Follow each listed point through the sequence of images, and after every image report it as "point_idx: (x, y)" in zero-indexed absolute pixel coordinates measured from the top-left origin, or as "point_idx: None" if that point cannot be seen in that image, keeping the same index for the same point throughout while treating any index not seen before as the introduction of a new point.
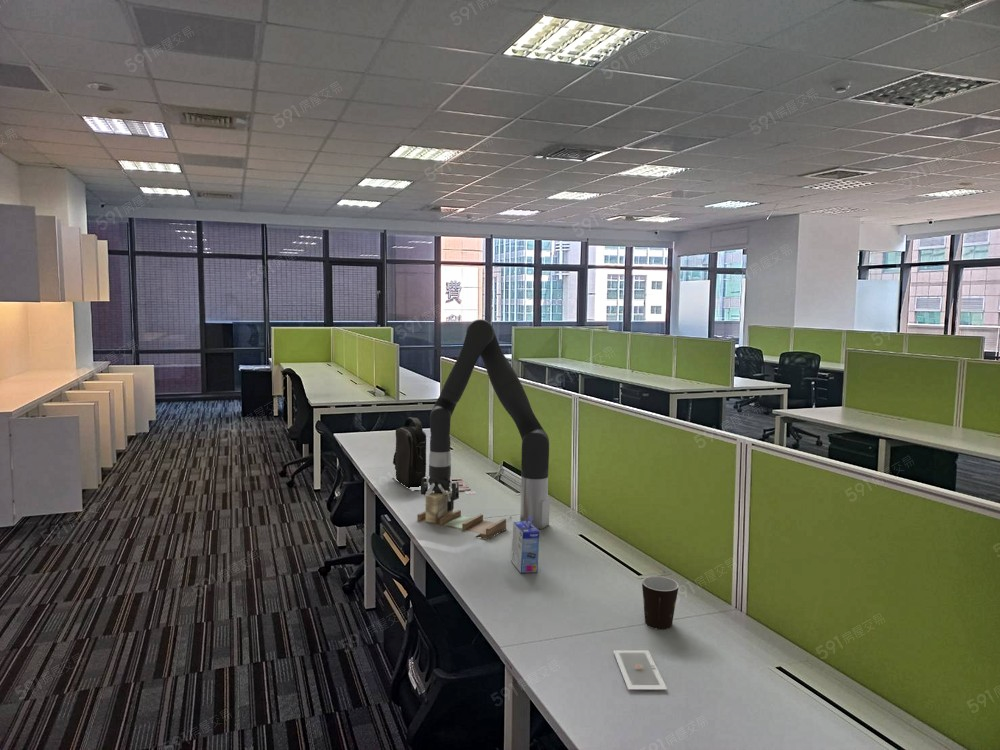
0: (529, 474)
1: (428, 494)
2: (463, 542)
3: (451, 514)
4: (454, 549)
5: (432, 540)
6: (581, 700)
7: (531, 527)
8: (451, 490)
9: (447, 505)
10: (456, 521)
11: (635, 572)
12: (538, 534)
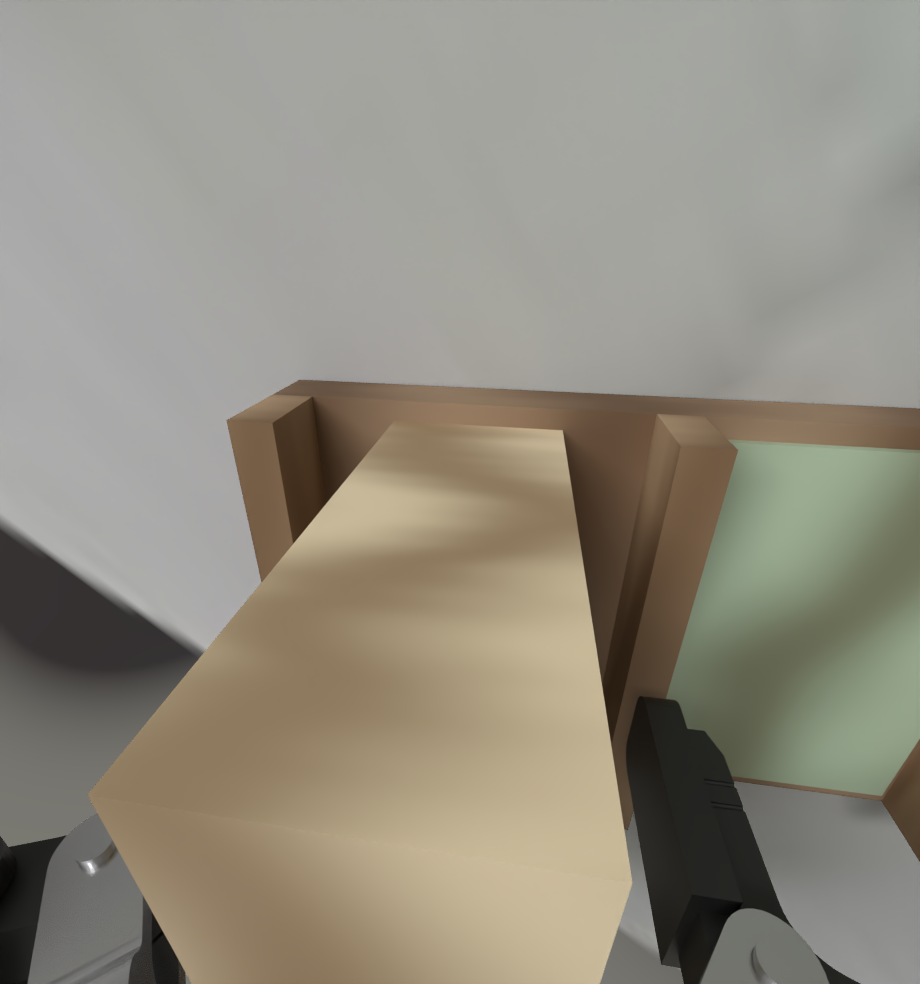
0: None
1: (172, 974)
2: (913, 875)
3: (661, 673)
4: (869, 957)
5: (646, 884)
6: None
7: None
8: (598, 946)
9: (647, 866)
10: (737, 653)
11: None
12: None
